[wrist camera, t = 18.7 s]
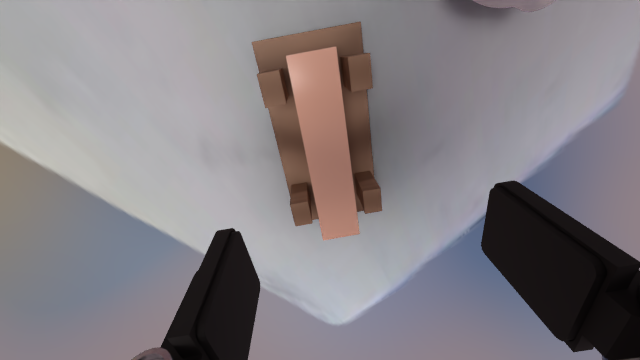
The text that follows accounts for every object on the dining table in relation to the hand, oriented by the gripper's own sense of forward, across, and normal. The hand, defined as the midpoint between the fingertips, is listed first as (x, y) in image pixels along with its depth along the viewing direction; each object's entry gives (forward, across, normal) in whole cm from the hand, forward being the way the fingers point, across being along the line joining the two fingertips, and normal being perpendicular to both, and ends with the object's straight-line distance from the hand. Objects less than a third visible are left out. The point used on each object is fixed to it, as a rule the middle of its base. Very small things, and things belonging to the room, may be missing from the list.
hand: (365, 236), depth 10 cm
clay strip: (+16, +1, +2) cm, 17 cm away
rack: (+17, +1, +2) cm, 17 cm away
